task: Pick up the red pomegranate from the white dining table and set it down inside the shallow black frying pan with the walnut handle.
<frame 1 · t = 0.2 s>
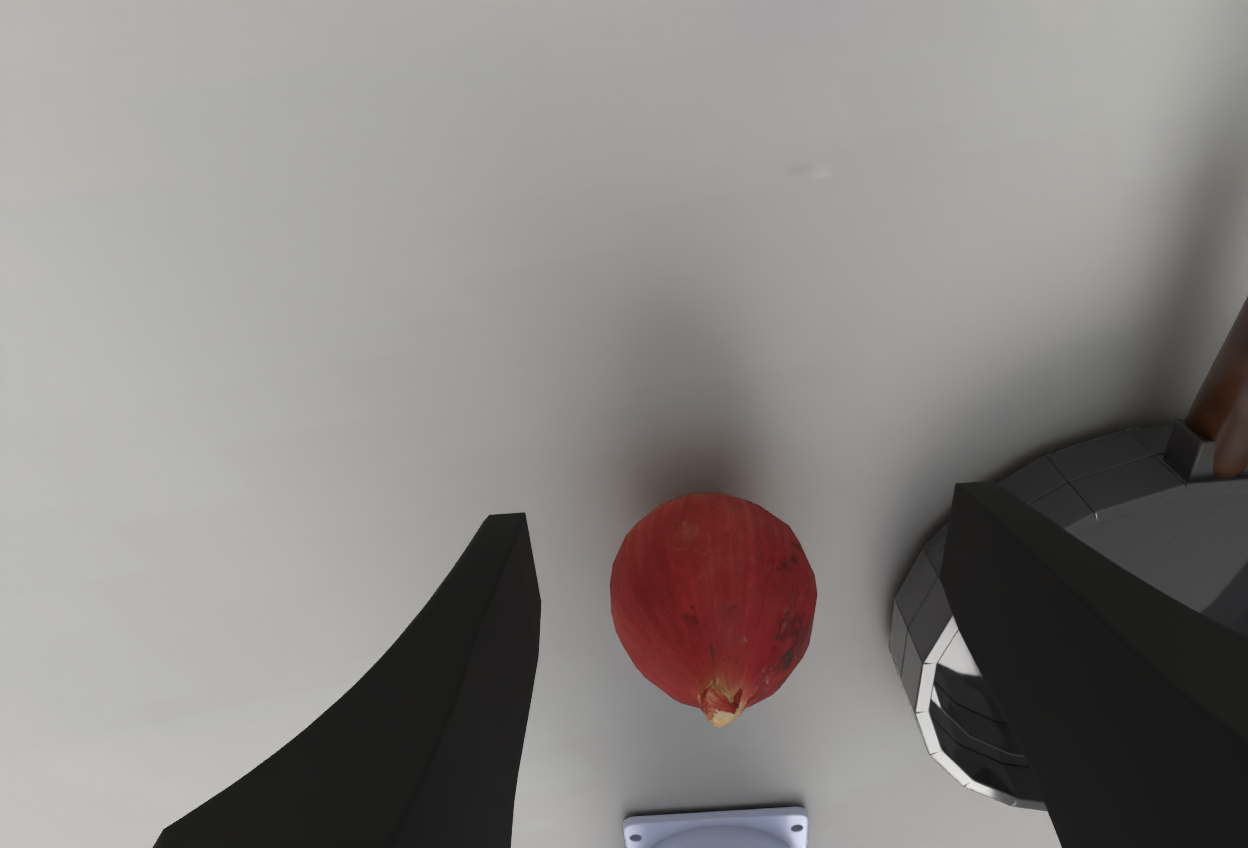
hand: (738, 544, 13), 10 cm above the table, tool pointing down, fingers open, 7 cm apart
pan: (1100, 597, 28), on the table
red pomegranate: (699, 511, 26), on the table
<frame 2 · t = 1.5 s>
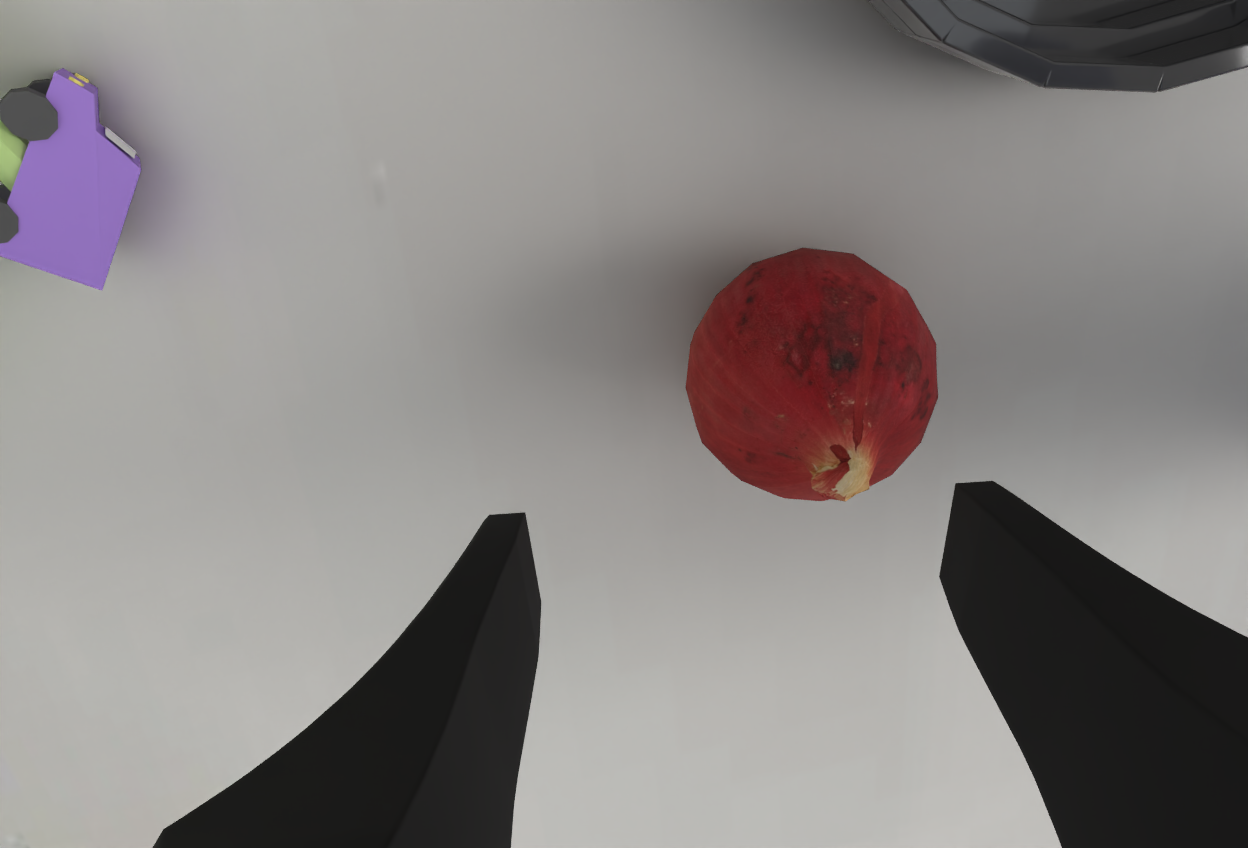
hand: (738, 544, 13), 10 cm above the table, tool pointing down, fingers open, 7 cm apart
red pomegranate: (778, 311, 22), on the table
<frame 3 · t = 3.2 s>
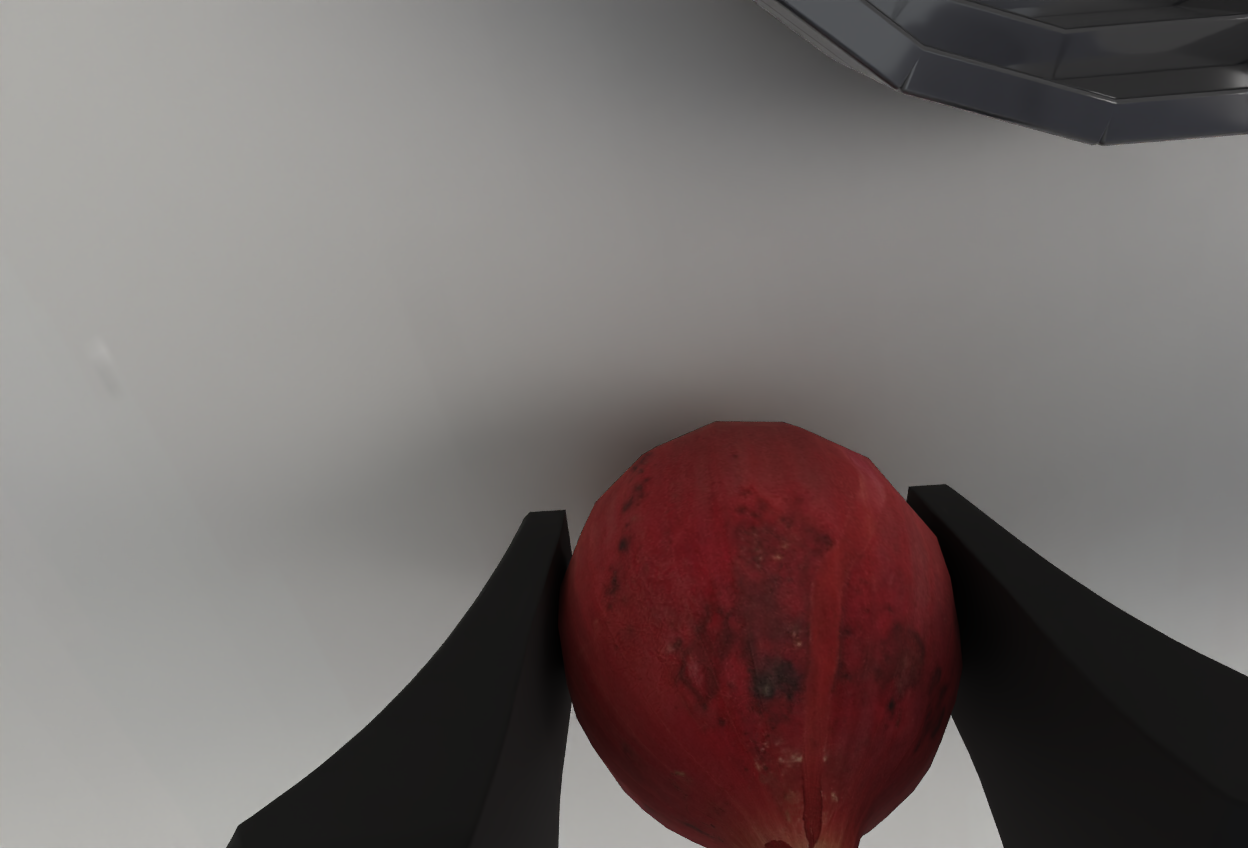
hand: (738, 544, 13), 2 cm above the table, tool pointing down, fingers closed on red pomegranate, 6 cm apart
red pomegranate: (721, 471, 15), on the table, touching gripper
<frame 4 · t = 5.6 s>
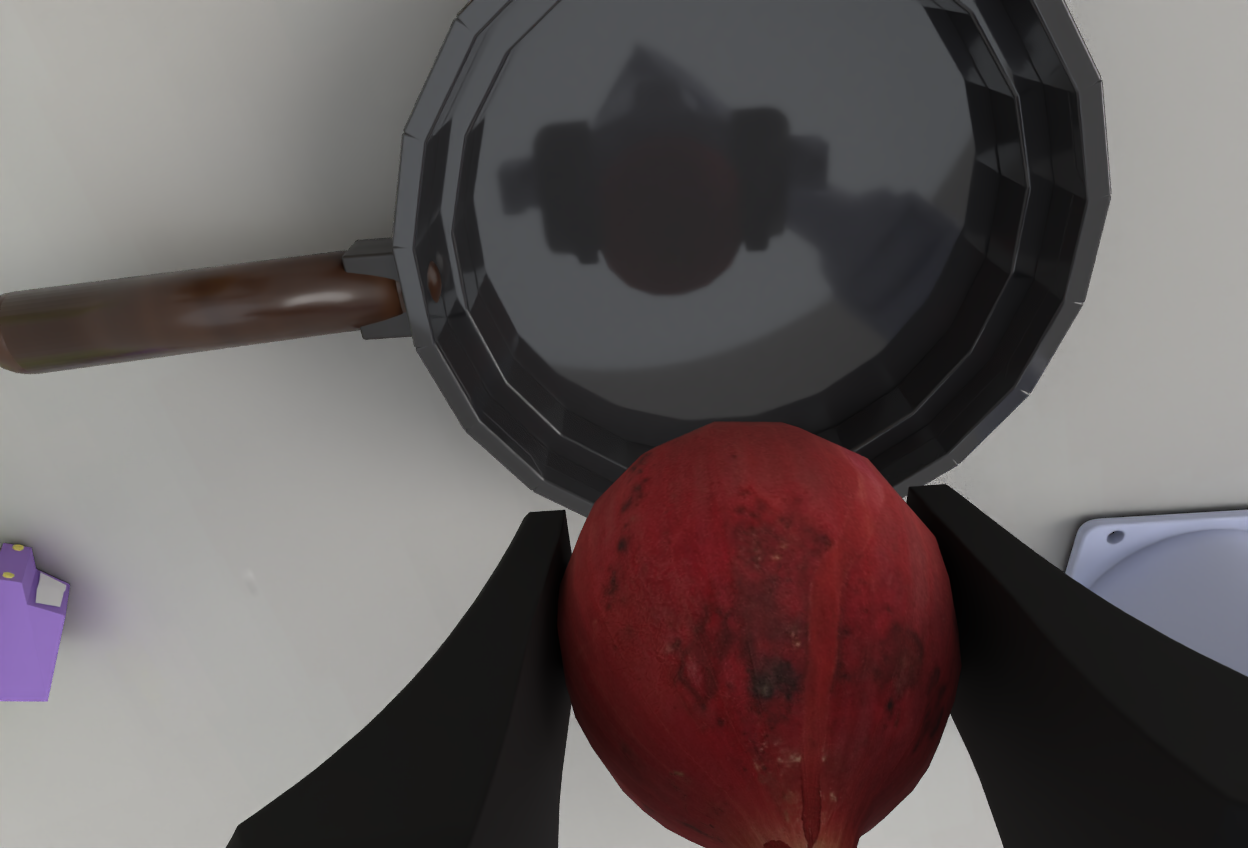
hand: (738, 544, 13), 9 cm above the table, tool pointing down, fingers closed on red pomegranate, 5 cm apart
pan handle: (220, 307, 17), point 3 cm above the table
pan: (727, 228, 20), on the table
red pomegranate: (720, 471, 15), point 7 cm above the table, touching gripper
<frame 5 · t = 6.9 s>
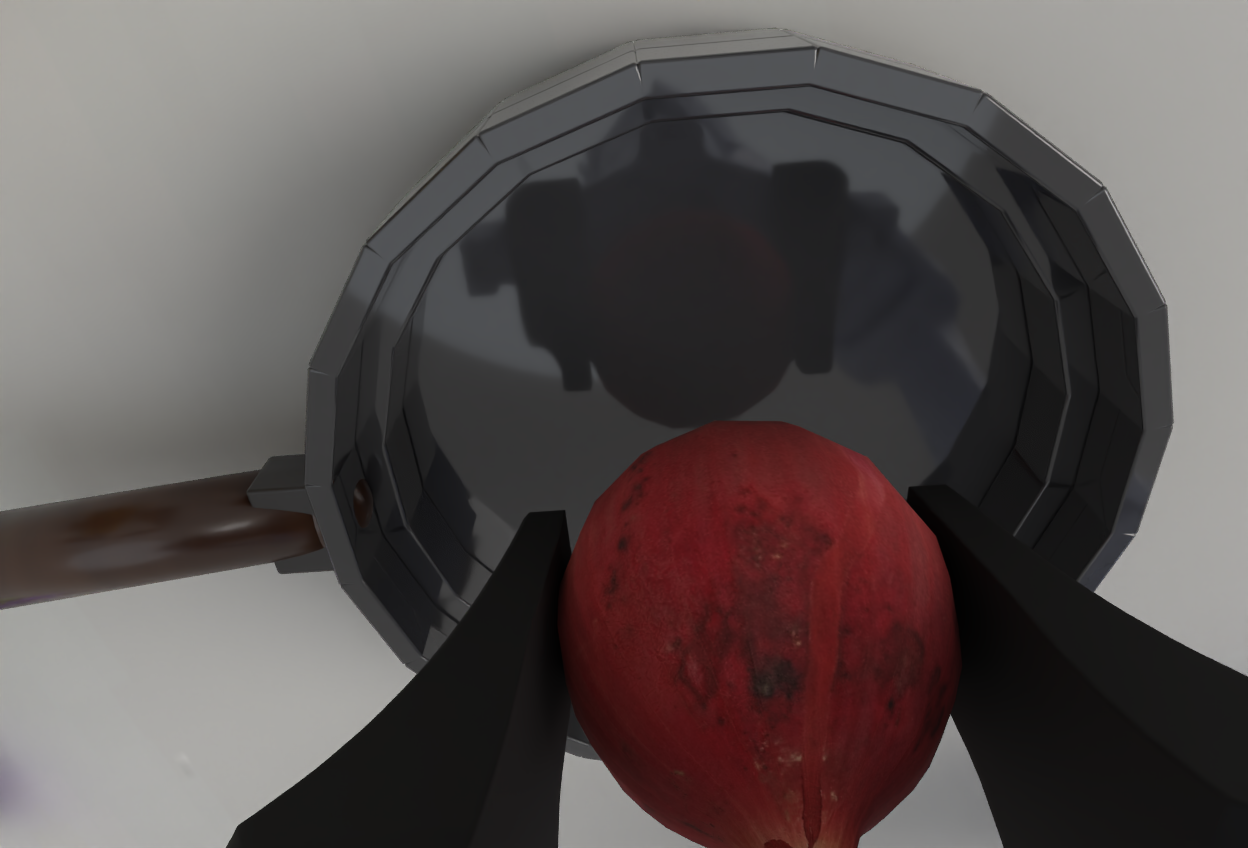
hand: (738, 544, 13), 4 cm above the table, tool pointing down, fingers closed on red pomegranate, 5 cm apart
pan handle: (106, 542, 15), point 3 cm above the table
pan: (711, 414, 17), on the table
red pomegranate: (720, 470, 15), point 2 cm above the table, touching gripper
when the fingers open (2 cm above the table, at t = 8.1 s): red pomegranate stays where it is, resting on pan.
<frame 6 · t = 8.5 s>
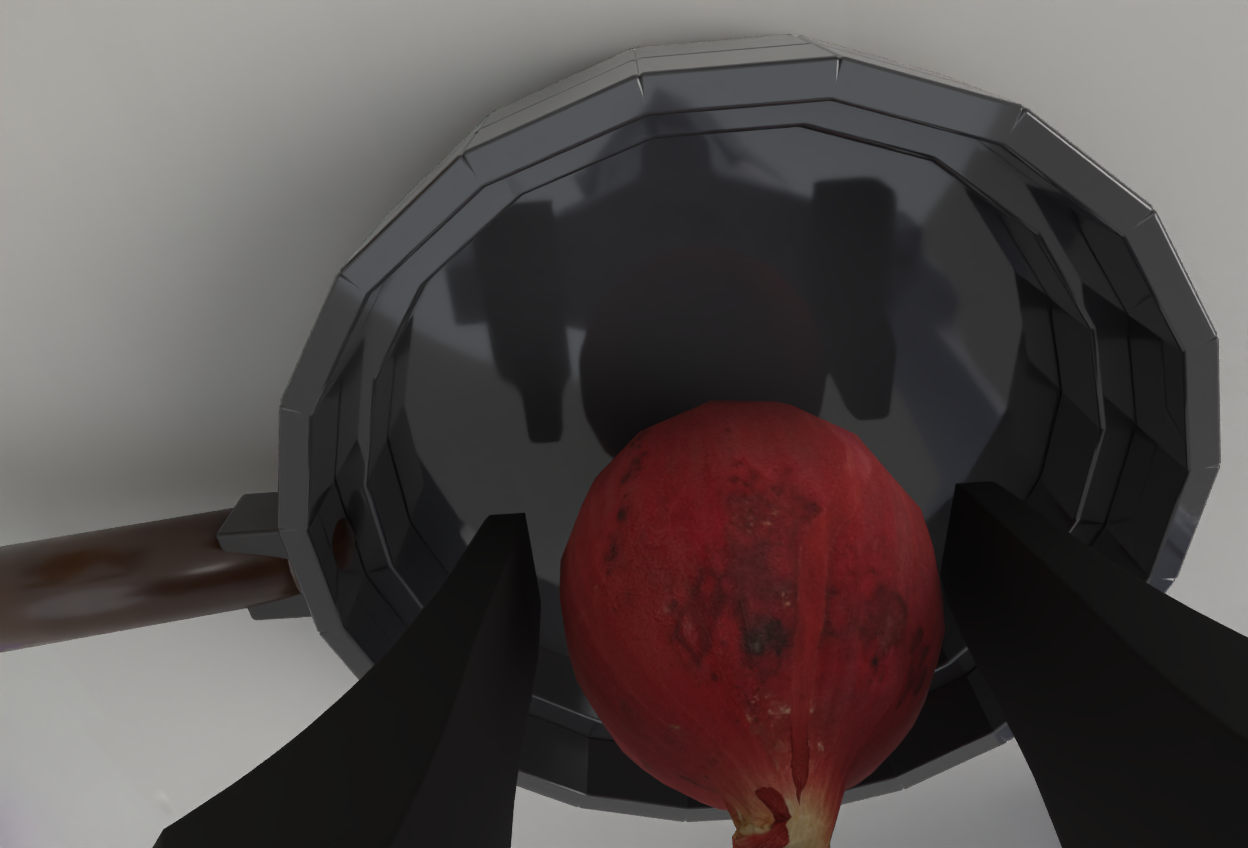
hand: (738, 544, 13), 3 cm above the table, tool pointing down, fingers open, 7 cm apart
pan handle: (66, 587, 14), point 3 cm above the table
pan: (717, 444, 16), on the table
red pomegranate: (716, 452, 16), resting on pan
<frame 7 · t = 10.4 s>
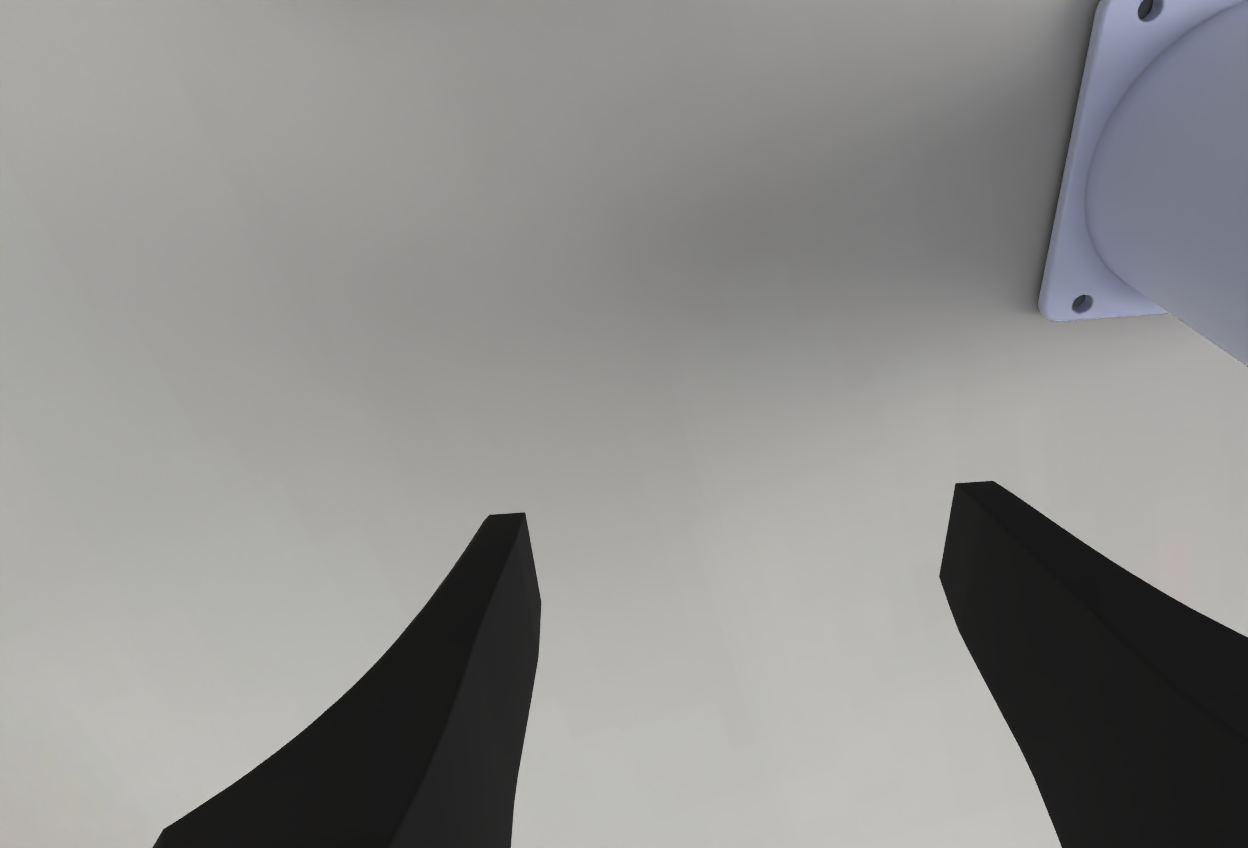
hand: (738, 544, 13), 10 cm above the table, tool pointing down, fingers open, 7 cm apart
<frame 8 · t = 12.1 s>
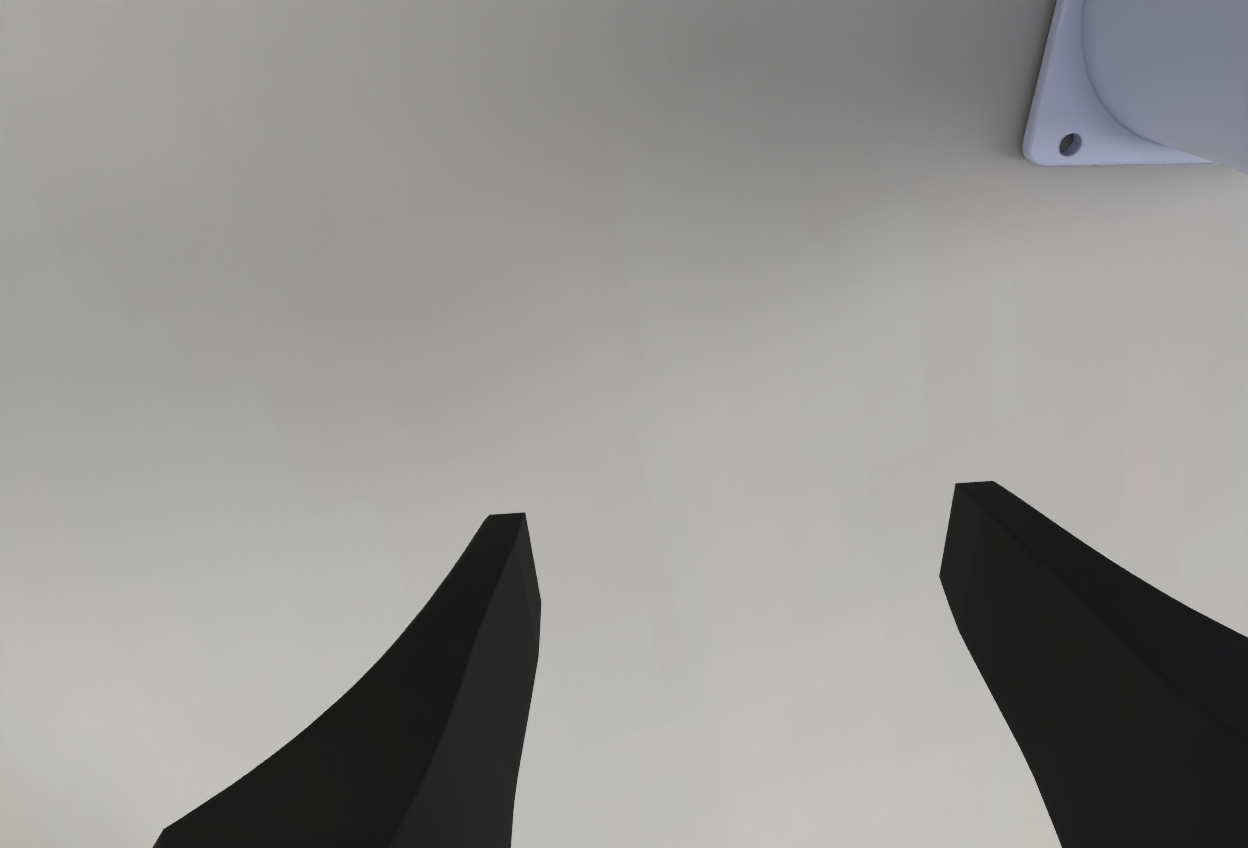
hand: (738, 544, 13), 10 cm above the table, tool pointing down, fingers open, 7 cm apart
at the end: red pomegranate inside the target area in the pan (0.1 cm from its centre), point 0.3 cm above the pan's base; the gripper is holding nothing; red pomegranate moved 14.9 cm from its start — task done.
